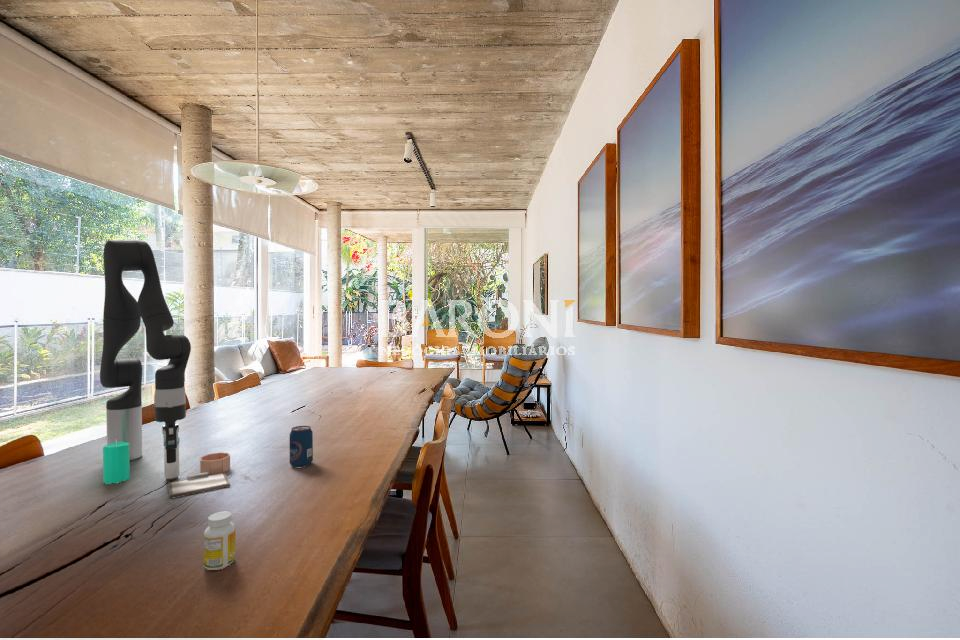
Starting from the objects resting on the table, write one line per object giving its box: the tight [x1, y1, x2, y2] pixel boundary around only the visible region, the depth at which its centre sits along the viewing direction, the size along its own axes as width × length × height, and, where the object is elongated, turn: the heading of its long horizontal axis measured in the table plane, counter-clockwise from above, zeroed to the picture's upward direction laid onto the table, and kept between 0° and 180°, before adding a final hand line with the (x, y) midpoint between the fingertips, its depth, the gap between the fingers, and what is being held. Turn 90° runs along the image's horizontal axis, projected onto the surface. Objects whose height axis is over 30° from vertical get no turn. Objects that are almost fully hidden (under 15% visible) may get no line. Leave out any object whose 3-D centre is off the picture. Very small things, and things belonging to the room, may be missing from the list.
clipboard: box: [168, 472, 231, 499], centre depth 126 cm, size 11×14×2 cm
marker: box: [163, 436, 180, 482], centre depth 130 cm, size 4×4×12 cm
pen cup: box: [199, 452, 231, 475], centre depth 138 cm, size 8×8×4 cm
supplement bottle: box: [203, 510, 236, 569], centre depth 87 cm, size 5×5×10 cm
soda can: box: [289, 425, 314, 468], centre depth 143 cm, size 7×7×12 cm
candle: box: [102, 439, 131, 484], centre depth 130 cm, size 6×6×12 cm
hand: (170, 458), depth 130 cm, fingers open, 8 cm apart
